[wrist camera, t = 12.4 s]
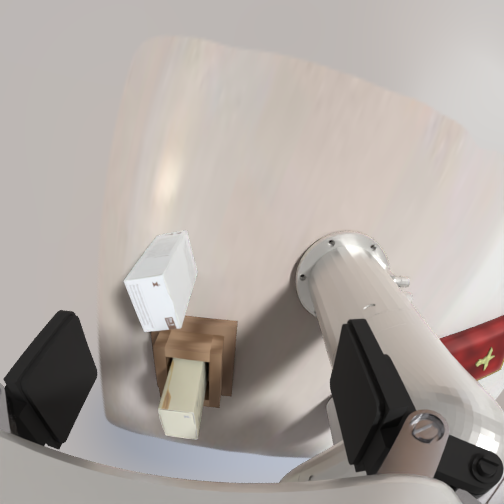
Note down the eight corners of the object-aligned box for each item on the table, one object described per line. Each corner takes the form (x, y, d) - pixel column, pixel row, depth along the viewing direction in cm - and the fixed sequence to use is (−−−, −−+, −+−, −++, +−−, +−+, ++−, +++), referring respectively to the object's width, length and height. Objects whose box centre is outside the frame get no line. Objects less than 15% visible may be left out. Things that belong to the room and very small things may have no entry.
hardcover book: (417, 342, 44) (427, 358, 40) (505, 311, 42) (517, 323, 39) (408, 389, 49) (416, 405, 45) (491, 358, 47) (501, 370, 43)
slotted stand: (237, 321, 42) (235, 346, 37) (231, 389, 47) (229, 415, 42) (152, 311, 42) (140, 334, 36) (159, 380, 47) (151, 404, 42)
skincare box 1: (155, 234, 37) (117, 278, 26) (189, 228, 37) (162, 271, 26) (168, 279, 40) (140, 334, 28) (201, 274, 39) (182, 330, 28)
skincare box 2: (176, 342, 42) (155, 406, 30) (207, 344, 42) (193, 411, 30) (180, 374, 44) (164, 437, 33) (208, 376, 44) (198, 441, 33)
